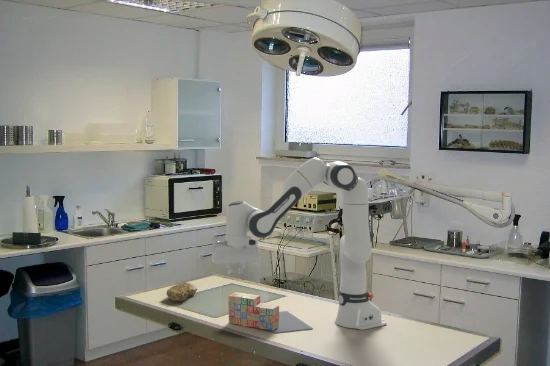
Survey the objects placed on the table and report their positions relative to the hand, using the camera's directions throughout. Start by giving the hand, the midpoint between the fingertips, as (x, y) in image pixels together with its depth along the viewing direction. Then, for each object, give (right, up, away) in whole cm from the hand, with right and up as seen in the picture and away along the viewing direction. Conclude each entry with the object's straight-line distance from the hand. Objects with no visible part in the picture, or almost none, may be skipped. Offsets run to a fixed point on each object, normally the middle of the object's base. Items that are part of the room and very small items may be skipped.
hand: (235, 273), depth 259 cm
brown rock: (-29, -19, +43) cm, 56 cm away
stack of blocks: (+7, -23, +6) cm, 25 cm away
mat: (+19, -23, +12) cm, 32 cm away
